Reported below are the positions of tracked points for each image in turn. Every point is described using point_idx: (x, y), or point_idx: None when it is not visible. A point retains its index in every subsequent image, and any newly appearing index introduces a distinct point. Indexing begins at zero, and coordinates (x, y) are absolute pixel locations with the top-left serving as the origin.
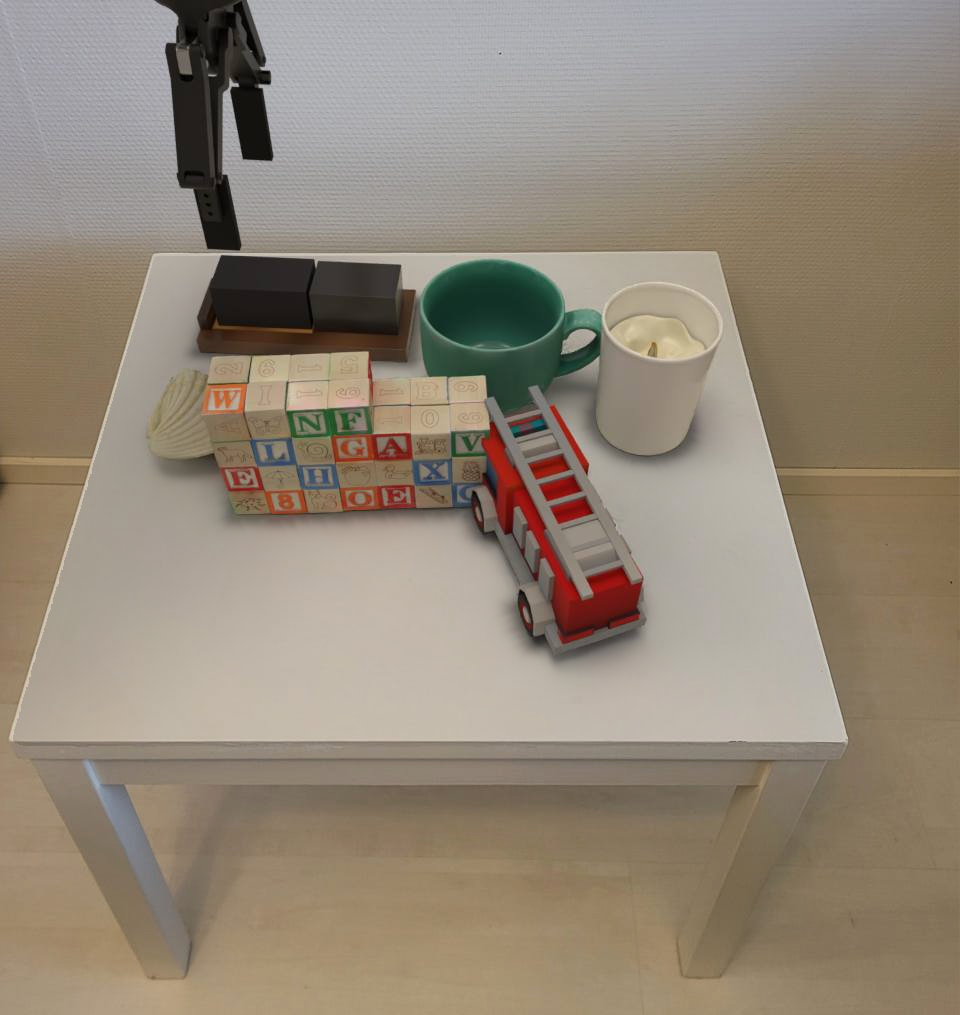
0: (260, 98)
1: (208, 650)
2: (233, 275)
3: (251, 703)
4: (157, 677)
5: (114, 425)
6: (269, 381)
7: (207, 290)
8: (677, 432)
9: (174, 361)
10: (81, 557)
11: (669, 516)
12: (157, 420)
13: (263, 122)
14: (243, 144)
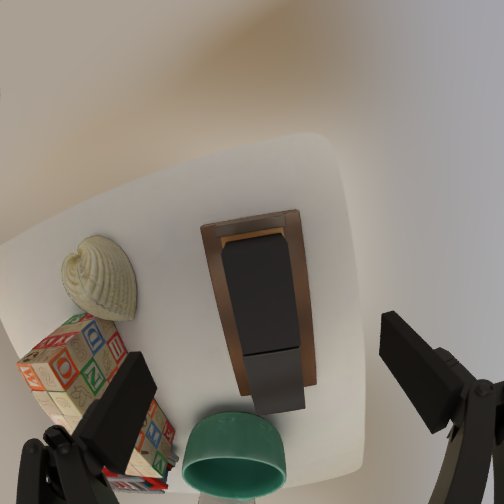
0: (427, 423)
1: (22, 323)
2: (250, 273)
3: (19, 345)
4: (7, 305)
5: (103, 194)
6: (54, 405)
7: (261, 220)
8: None
9: (184, 206)
10: (24, 236)
11: (176, 475)
12: (82, 254)
13: (407, 392)
14: (393, 333)
